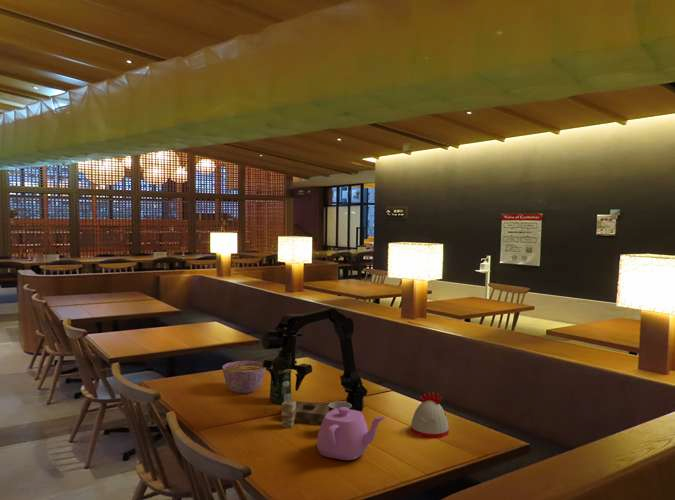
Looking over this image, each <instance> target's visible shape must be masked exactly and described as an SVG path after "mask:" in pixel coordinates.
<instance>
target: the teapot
mask: <svg viewBox="0 0 675 500" xmlns="http://www.w3.org/2000/svg"><path fill="white" fill-rule="evenodd" d="M385 419H386V416H378V417H375V418H374V419H373V420H372V421H371V425H370V428H368V425H367V422H366V419H365V416H364V414H363V412H362V411H356V410H350V409H349V408H347V407H340V408H337V409H334V410H331V411H330V412H328V413H327V414H326V415H325V417H324V419H323V422H322V424H321V425H320V426H319V429H318V434H317V441H316V448H317V450H318V452H319V454H320V455H321V456H323V457H326V458H330V459H335V460H341V461H342V460H343V461H353V460H356V459H358V458H360V457H361V456H362V455H363V454H364V453H365V451H366V450H367V447H368V446H369V445H370V444H371V443H373V442H374V439H375V437H376V435H377V429H378V426H379V423H380V422H381V421H382V420H385ZM368 429H369V430H368Z"/></svg>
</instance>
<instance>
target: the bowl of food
mask: <svg viewBox="0 0 675 500" xmlns="http://www.w3.org/2000/svg"><path fill="white" fill-rule="evenodd" d="M221 368H222V372H223V376H224V377H223V378H224V381H225V385H226V386H227V388H228V389H229V390H231V391H233V392H235V393H236V394H239V393H241V394H242V395H244V394H247V395H248V394H250V393H253V392H254V391H256V390H258V389H259V388H260V387H261V385H262V384H263V382H264V379H265V374H266V371H267V370H266V368H264V367H263V362H260V361H257V360H256V361H254V360H237V361H236V360H235V361H231V362H227V363H225V364H223V365H222V366H221ZM241 394H240V395H241Z"/></svg>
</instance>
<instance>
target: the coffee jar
mask: <svg viewBox="0 0 675 500" xmlns="http://www.w3.org/2000/svg"><path fill="white" fill-rule="evenodd" d="M269 387H270V388H269V400H270V402H272V403H274V404H276V405H282V403H283V402H285V401H292V369H287V368H285V370H284V371H279V374H278V382H277V386H276V387H274V384H273V380H272V377H271V376H270V386H269Z"/></svg>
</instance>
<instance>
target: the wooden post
mask: <svg viewBox="0 0 675 500" xmlns="http://www.w3.org/2000/svg"><path fill="white" fill-rule="evenodd" d="M296 401H297V400H291V401H285V402H283V403H282V404H281V410H282V417H283V420H281V422H282V424H283V428H287V429H292V428H293V427H294V426H295V422H294V420H295V415H296Z"/></svg>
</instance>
